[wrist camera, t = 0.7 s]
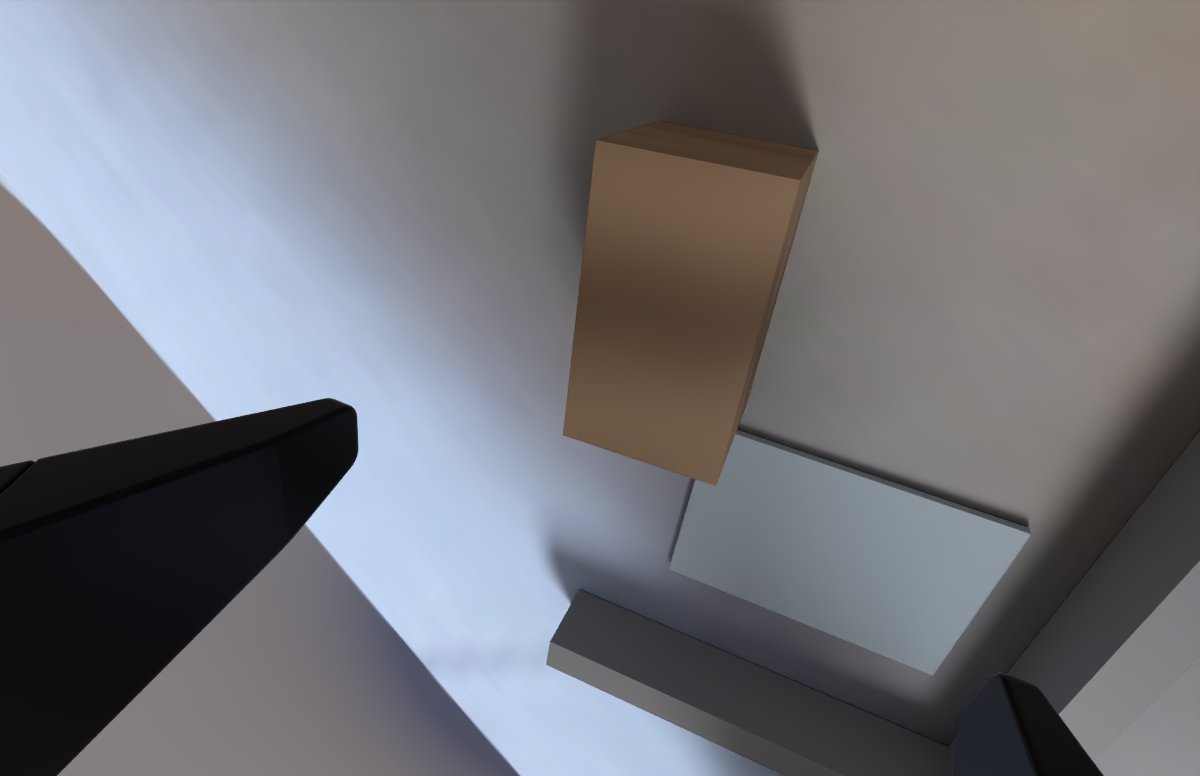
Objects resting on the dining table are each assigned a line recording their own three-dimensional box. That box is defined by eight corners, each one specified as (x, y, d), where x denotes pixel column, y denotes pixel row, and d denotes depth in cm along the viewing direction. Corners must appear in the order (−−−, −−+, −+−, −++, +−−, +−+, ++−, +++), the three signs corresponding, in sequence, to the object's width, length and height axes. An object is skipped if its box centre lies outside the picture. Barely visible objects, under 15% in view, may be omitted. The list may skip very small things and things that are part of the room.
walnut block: (747, 401, 21) (715, 485, 17) (621, 364, 22) (562, 435, 18) (819, 149, 17) (800, 180, 13) (659, 120, 18) (595, 140, 14)
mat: (932, 669, 23) (932, 675, 22) (670, 564, 25) (668, 569, 25) (1029, 528, 19) (1031, 534, 19) (713, 421, 21) (711, 425, 21)
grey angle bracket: (971, 785, 24) (982, 867, 22) (574, 611, 29) (546, 664, 26) (1342, 364, 15) (1437, 427, 12) (657, 192, 19) (623, 213, 16)
